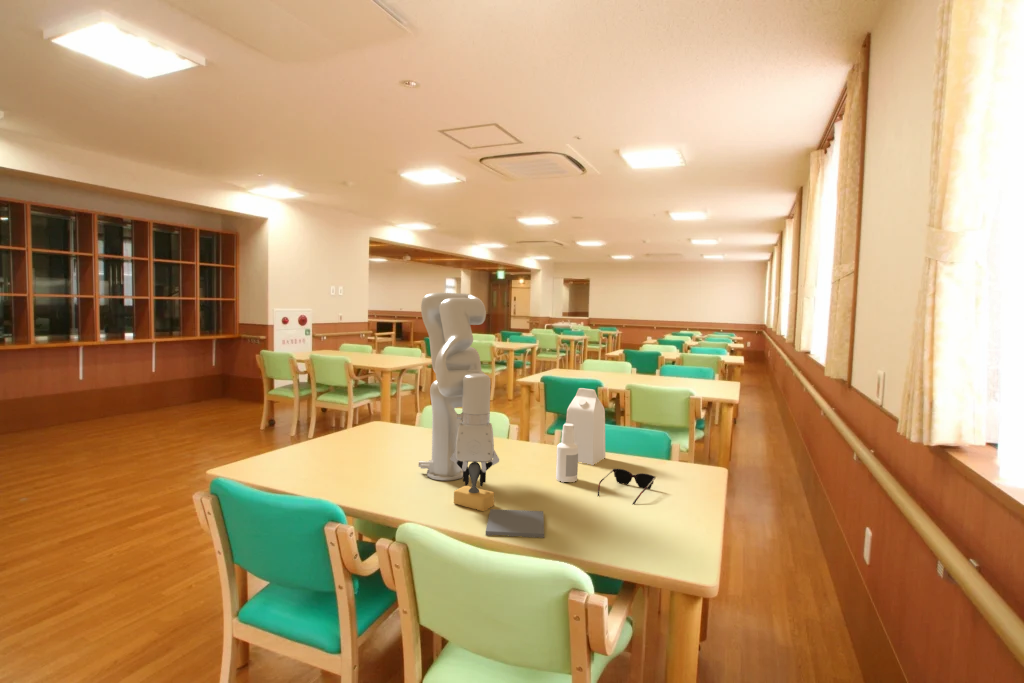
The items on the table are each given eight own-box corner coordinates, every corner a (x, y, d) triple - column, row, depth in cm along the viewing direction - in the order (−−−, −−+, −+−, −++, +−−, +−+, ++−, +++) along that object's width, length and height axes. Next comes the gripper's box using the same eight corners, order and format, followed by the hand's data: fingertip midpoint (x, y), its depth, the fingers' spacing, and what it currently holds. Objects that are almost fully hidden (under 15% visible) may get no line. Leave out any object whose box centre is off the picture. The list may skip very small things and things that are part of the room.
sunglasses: (655, 491, 161) (655, 475, 160) (638, 510, 147) (638, 493, 147) (612, 482, 168) (613, 467, 168) (592, 500, 155) (593, 483, 154)
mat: (485, 535, 125) (485, 531, 125) (490, 512, 139) (490, 509, 139) (543, 537, 125) (544, 533, 125) (543, 514, 139) (543, 511, 139)
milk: (605, 458, 195) (608, 388, 193) (592, 465, 185) (595, 392, 183) (576, 452, 201) (578, 385, 199) (562, 459, 191) (564, 389, 190)
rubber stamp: (453, 503, 145) (454, 461, 144) (465, 497, 150) (466, 456, 149) (483, 511, 140) (484, 467, 139) (494, 505, 145) (495, 462, 144)
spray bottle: (576, 484, 164) (578, 427, 163) (554, 482, 166) (556, 426, 165) (578, 477, 171) (579, 423, 170) (557, 475, 172) (558, 421, 171)
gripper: (443, 420, 140) (442, 487, 141) (505, 423, 139) (503, 490, 140) (448, 415, 147) (446, 478, 148) (506, 417, 146) (504, 481, 148)
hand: (474, 483), depth 144 cm, fingers closed on rubber stamp, 3 cm apart
